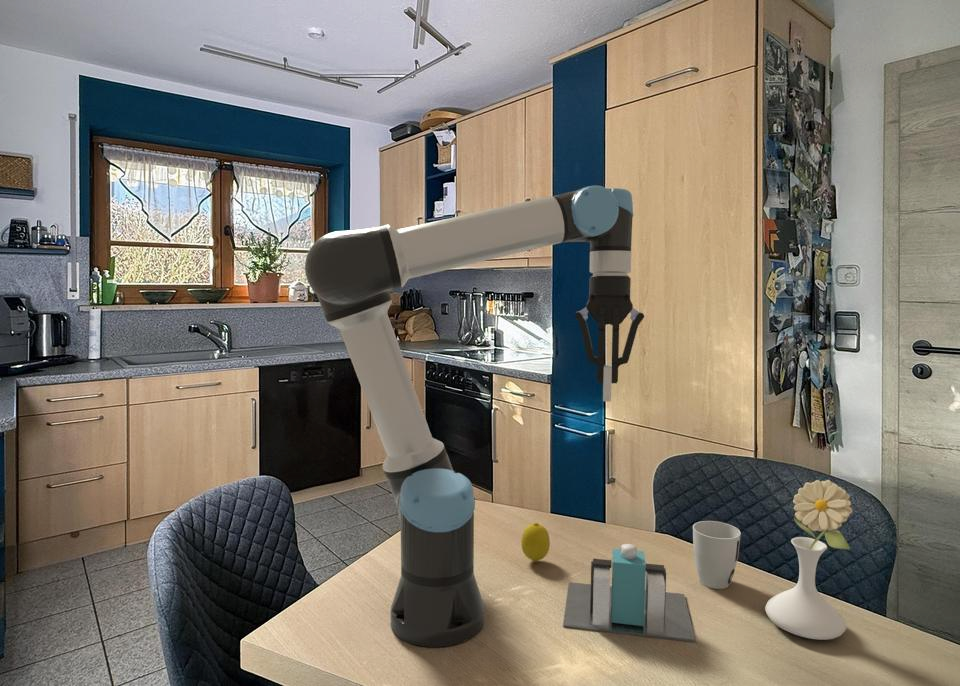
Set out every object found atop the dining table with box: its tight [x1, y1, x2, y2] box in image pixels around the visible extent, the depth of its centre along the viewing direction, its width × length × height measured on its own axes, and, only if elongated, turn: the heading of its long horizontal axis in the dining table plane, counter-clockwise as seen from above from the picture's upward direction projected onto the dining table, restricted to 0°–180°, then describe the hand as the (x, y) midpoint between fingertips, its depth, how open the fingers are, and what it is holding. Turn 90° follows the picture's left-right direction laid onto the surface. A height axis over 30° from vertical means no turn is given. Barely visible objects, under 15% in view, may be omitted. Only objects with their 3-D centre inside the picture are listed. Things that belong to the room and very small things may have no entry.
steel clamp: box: [562, 558, 696, 643], centre depth 101 cm, size 20×14×9 cm
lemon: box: [520, 522, 551, 563], centre depth 119 cm, size 6×6×8 cm
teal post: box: [611, 543, 647, 626], centre depth 98 cm, size 5×5×12 cm
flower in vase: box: [764, 479, 853, 641], centre depth 95 cm, size 13×11×25 cm
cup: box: [692, 520, 742, 590], centre depth 111 cm, size 8×8×10 cm
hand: (607, 400), depth 115 cm, fingers closed
